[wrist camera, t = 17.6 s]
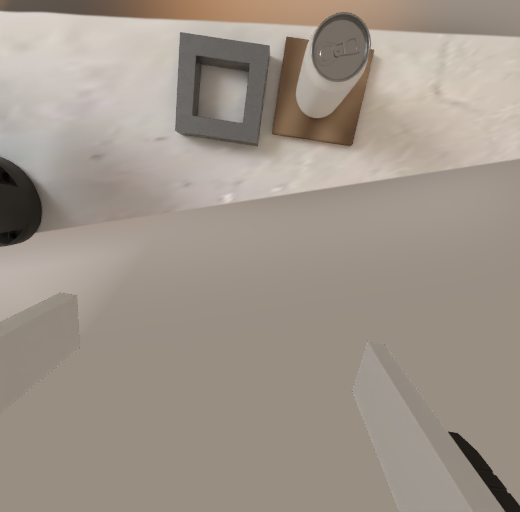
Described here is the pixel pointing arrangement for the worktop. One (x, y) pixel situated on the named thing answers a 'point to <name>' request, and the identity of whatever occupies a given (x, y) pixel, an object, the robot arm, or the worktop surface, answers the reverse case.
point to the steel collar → (226, 56)
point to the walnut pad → (302, 126)
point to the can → (332, 64)
